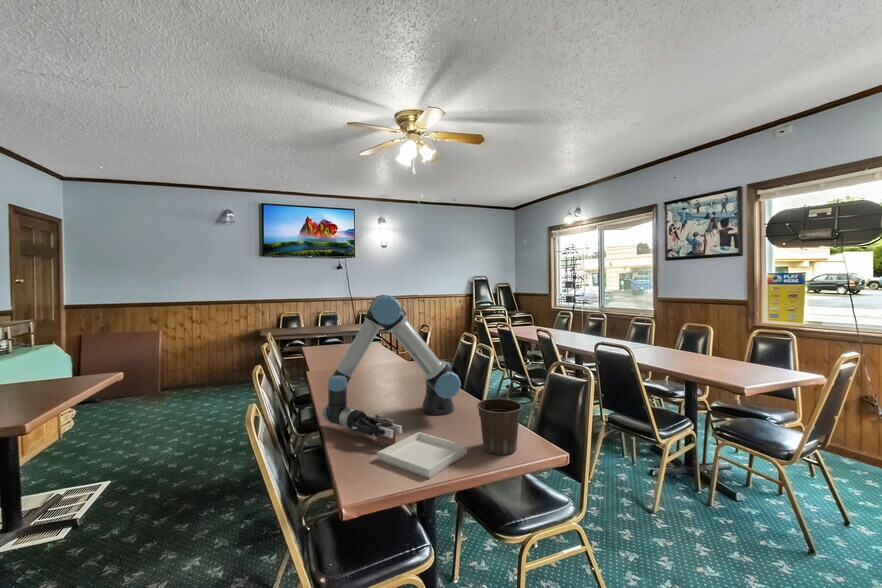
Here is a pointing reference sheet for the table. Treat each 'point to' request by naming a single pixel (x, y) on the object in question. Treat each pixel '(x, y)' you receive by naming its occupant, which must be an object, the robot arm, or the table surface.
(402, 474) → the table surface
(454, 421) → the table surface
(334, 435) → the table surface
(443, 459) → the tray
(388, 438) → the lighter
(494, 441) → the plant pot
